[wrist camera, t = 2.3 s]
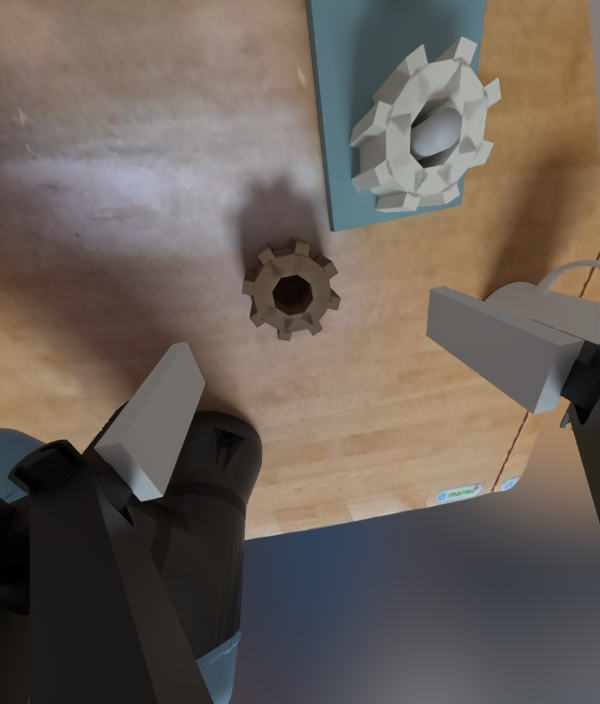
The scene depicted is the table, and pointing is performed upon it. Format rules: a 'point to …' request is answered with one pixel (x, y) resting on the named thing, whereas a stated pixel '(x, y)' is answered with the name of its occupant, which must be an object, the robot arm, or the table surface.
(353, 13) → the gear board
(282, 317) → the walnut gear
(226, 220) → the table surface
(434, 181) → the cream gear
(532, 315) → the mug
